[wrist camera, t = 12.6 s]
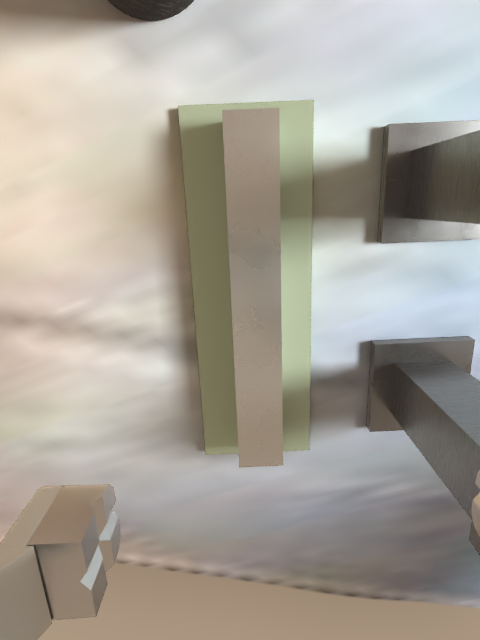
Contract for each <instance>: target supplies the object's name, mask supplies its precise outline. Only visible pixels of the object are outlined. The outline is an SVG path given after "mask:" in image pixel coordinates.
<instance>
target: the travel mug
mask: <svg viewBox="0 0 480 640" xmlns="http://www.w3.org/2000/svg"><path fill="white" fill-rule="evenodd" d="M108 1H109V2H110V3H111V4H113V5H114V6H115V7H116V8H118V9H119V10H121V11H122V12H124V13H126V14H128V15H130V16H132V17H136V18H139V19H144V20H162V19H166V18H169V17H172V16H174V15H176V14H178V13H180V12H181V11H183V10H184V9H186V8H187V7H188V6H189V5H190V4H191V3H192V2H193V1H194V0H108Z"/></svg>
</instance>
